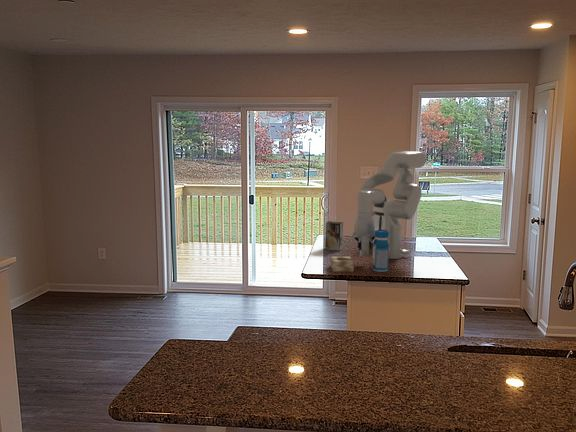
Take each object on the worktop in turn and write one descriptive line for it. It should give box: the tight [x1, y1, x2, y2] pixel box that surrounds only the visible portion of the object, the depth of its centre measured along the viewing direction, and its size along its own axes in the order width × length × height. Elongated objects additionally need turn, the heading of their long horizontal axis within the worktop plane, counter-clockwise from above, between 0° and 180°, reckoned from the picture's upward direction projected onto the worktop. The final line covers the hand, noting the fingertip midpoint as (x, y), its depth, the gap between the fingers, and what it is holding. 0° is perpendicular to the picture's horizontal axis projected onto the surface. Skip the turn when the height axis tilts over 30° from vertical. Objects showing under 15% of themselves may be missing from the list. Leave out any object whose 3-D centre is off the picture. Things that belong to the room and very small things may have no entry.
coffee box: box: [324, 220, 344, 252], centre depth 296 cm, size 9×6×16 cm
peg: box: [359, 236, 370, 257], centre depth 263 cm, size 4×4×12 cm
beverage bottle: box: [371, 230, 390, 273], centre depth 253 cm, size 8×8×20 cm
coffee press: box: [371, 196, 388, 245], centre depth 310 cm, size 17×16×30 cm
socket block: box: [330, 256, 355, 272], centre depth 255 cm, size 10×10×5 cm
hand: (364, 248), depth 263 cm, fingers closed on peg, 4 cm apart
